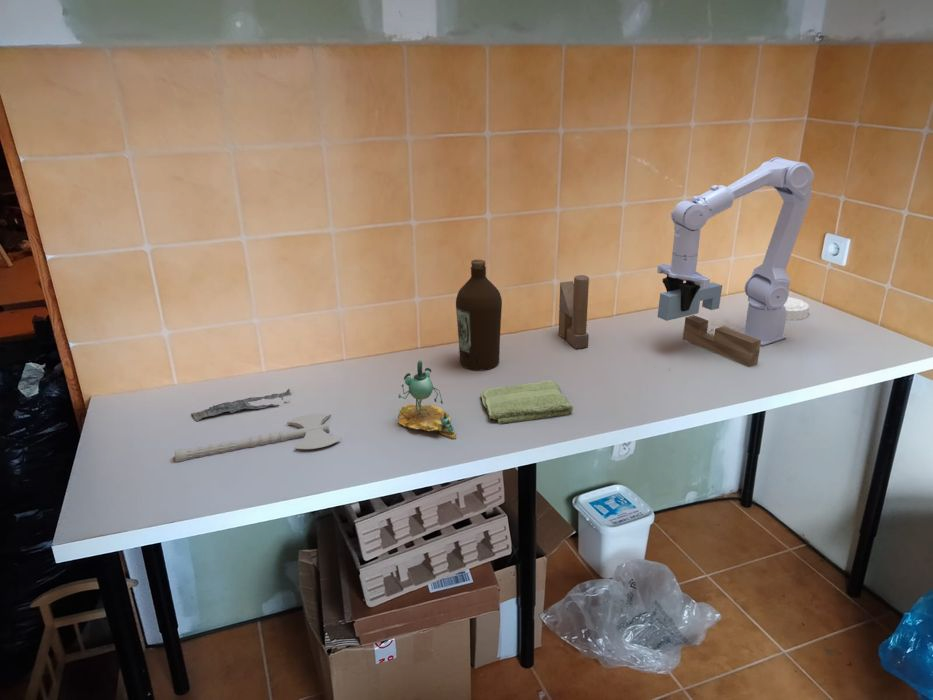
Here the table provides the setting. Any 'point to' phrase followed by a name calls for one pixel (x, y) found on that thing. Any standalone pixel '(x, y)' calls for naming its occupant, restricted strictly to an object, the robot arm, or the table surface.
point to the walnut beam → (722, 341)
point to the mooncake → (796, 309)
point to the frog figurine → (424, 406)
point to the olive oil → (479, 320)
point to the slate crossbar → (672, 303)
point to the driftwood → (238, 405)
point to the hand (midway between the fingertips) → (679, 308)
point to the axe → (273, 438)
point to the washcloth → (525, 402)
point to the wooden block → (574, 311)
